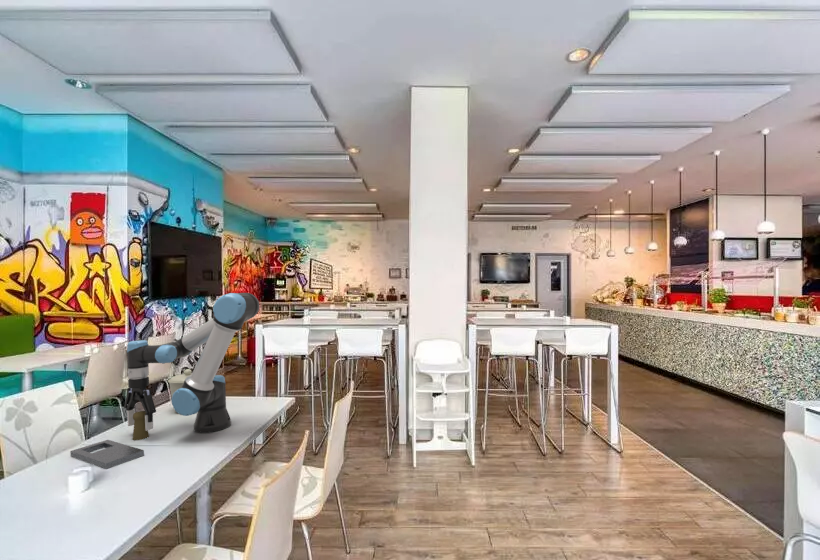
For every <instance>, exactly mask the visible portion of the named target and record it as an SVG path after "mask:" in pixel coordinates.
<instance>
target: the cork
mask: <svg viewBox="0 0 820 560" xmlns="http://www.w3.org/2000/svg"><path fill="white" fill-rule="evenodd" d="M145 414H146V412H145V410H140V411H135V413H134V414H133V420H134V425H133V432H132V440H133V441H141V440H146V439H148V438H149V437H150V434H149V430H148V431H146V430H145ZM147 437H148V438H147ZM145 438H146V439H145Z"/></svg>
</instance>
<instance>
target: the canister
mask: <svg viewBox="0 0 820 560" xmlns="http://www.w3.org/2000/svg"><path fill="white" fill-rule="evenodd" d="M192 373H193V371H192V370H191V369H190V368H187V369H184V370H183V373H181V374H177V375H175V376H172V377H171V378H170V379H168V380H167V383H169V390H170V395H171V397H172V395H173V394H174V392H175V391H177V389H180V388H181V387H182V385H183V383H184V381H185V379H186V377H188V376H190V375H192Z"/></svg>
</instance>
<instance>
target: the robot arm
mask: <svg viewBox="0 0 820 560" xmlns="http://www.w3.org/2000/svg"><path fill="white" fill-rule="evenodd" d="M212 310H213V311H212V312H213V315H214V316H213V318H210V319H209V320H208V321H206V322H204V323H203V324H201V325H199V326H198V327H197V328H195V329H194V330H192V331H190V332H188V333H186V335H184V336H182V337H180V338H179V339H177V340H176V341H172V342H168V343H163V344H153V345H149V343H148V340H146V339H145V340H144V339H141V340H132V341H129V342H127V344H126V348H127V349H126V356H127V357H126V358H127V359H126V360H127V372H126V373H127V377H128V380H127V382H128V383H127V384H128V387H127V389H126V390H127V392H126V396H125V401H124V406H123V408H124V409H126V411H127V426H128V427H132V426H134V420H133V414H134V413H136V407H135V406H136V404H137V402H139V403H140V404H141V406H142V408H143V411H145V412H146V414H145V430H146V431H148V432H149V431H150V430H151V431H152V430H154V419H153V416H154V415H153V414H154V413H157V409H156V406H155V402H154V399H153V395H152V390H151V389H147V387H148V386H149V385H150V377H149V376H150V369H149V364H170V363H172V362H174V361H175V360H177V359H179V358H180V359H181V358H185V357H187V356H189V355H190V354H192V353H193V351H195V350H196V349H197V348H200V347H201V346H202V345H204V344H205V345H204V347H203V350H202V351H201V354H200V356H199V358H198V360H197V363H196V364H195V367H194V369H193V371H192V372H191V373H192V375H190V376H188V377H186V379H185V381H184V383H183V385H182V387H181V388H180V389H177V391H175V392H174V394H173V395H172V396H171V406H173V409H174V411H175V412H176V413H177V414H179V415H180V416H184V417H188V416H192V415H196V417H195V421H194V423H193V431H194V432H196V433H201V434H202V433H212V432H218V431H222V430H225V429H227V428H229V427H230V426H231V424H232V420H231V416H230V413H229V412H228V409H227V395H226V394H227V393H226V377H225V376H224V375H220V374H217V372H218V370H219V369H220V366H221V364H222V362H223V359H224V358H225V355H226V353H227V352H228V348H229V347H230V345H231V343H232V340H233V338H234V336H235V334H236V332H239V331H241V330H242V327H243V326H244V323H246V322H247V321H249V320H250V319H252V318H253V319H254V317H256V315H258V312H259V310H260V302H259V300H258V298H257V297H256V295H254V294H252V293H251V292H238V293H236V292H229V293H227V294H223V295H221V296H220V297H218V299H216V300H215V302H214V304H213V308H212Z"/></svg>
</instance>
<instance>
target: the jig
mask: <svg viewBox="0 0 820 560" xmlns="http://www.w3.org/2000/svg"><path fill="white" fill-rule="evenodd" d="M144 456H145V450H144V449H141V448H138V447H134V446H132V445H127V444H124V443H121V442H117V441H114V440H110V439H106V440H103V441H102V440H101V441H99V442H96V443H95V442H94V443H92V444H89V445H86V446H83V447H79V448H76V449H73V450H70V457H71V458H75V459H77V460H79V461H83V462H86V463H88V464H92V465H93V464H94V466H97V467H99V468H101V469H102V468H103V469H104V470H105V469H106V470H107V469H110V468H113V467H116V466H119V465H122V464H124V463H127V462H131V461H132V460H136V459H138V458H139V459H140V457H144Z"/></svg>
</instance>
